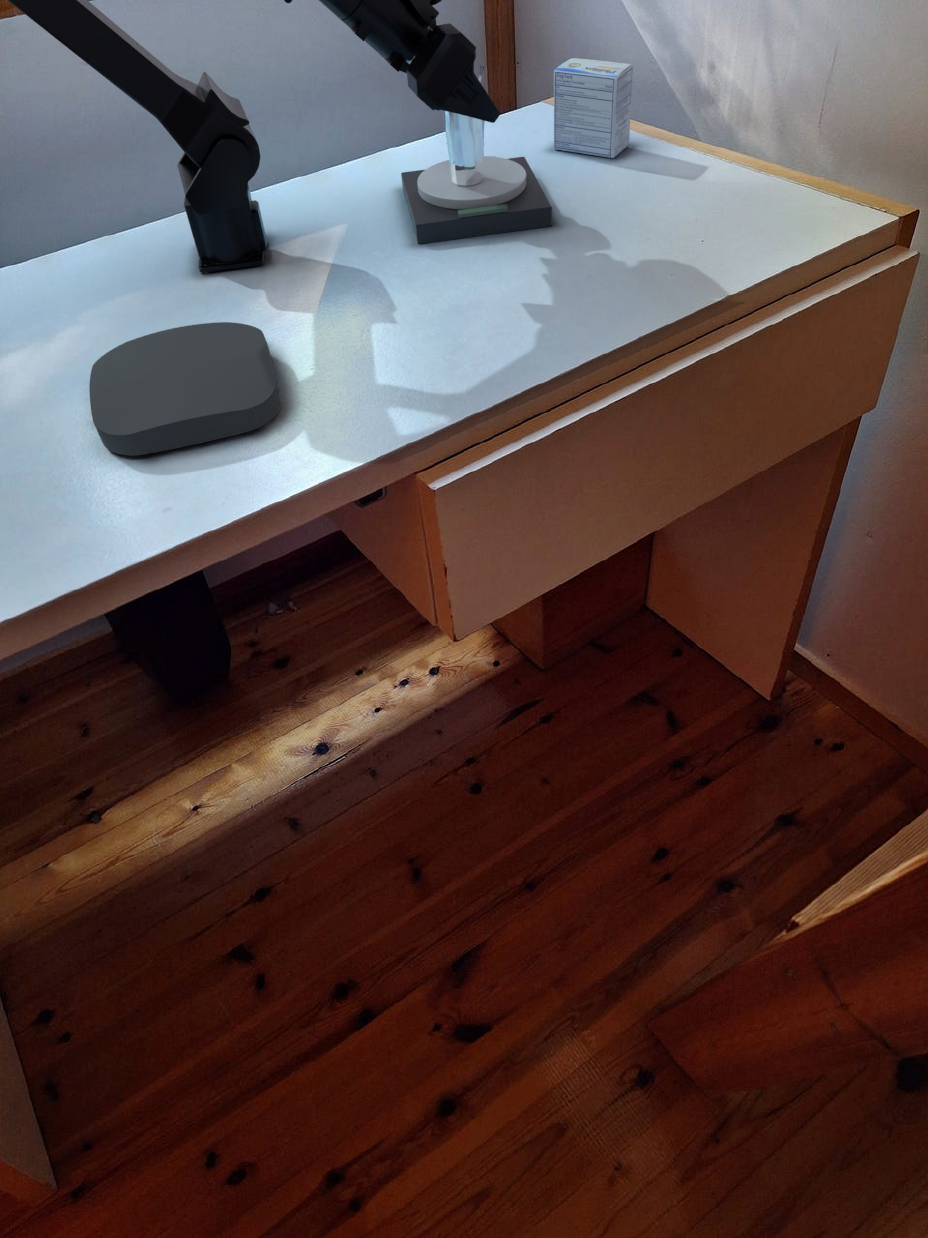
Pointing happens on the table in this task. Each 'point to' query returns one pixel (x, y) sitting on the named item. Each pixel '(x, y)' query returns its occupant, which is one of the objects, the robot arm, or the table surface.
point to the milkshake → (465, 146)
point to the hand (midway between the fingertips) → (481, 103)
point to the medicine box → (592, 106)
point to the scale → (475, 201)
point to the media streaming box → (183, 388)
